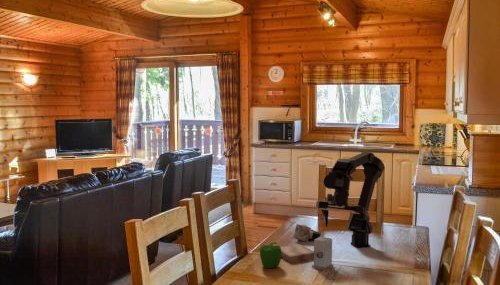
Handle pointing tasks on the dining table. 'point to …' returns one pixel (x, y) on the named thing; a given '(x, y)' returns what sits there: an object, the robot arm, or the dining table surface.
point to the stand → (296, 253)
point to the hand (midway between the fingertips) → (337, 228)
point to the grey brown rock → (305, 233)
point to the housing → (323, 253)
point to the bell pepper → (270, 255)
